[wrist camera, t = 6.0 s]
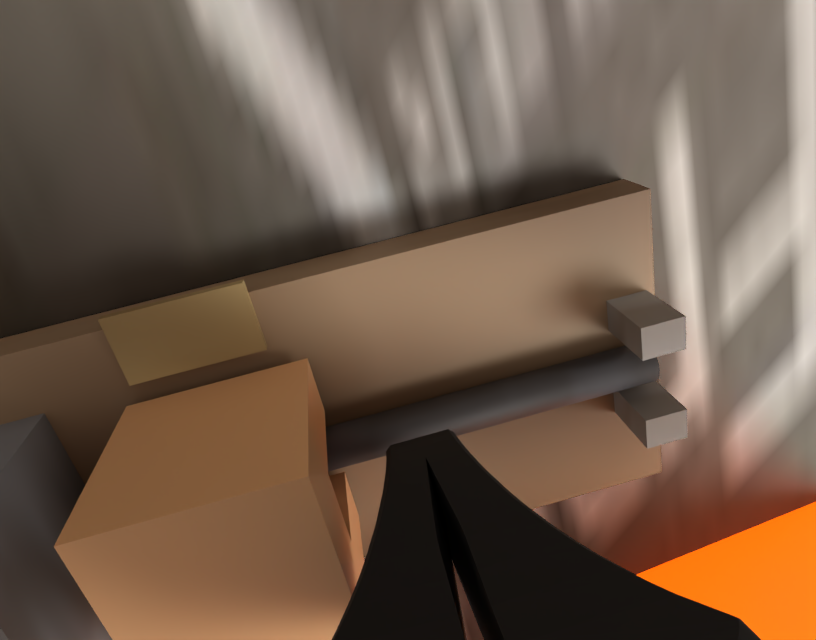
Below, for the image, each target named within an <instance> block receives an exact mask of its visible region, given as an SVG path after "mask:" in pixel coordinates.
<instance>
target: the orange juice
mask: <svg viewBox="0 0 816 640" xmlns="http://www.w3.org/2000/svg"><path fill="white" fill-rule="evenodd" d="M637 576H639V577H641V578H643V579H645V580H647V581H649V582H651V583H653V584H655V585H658V586H660V587H662V588H664V589H666V590H668V591H671V592H673V593H675V594H678V595H680V596H683V597H686V598H688V599H691V600H693V601H696V602H699V603H701V604H704V605H706V606H709V607H712V608H714V609H717V610H720V611H722V612H725V613H727V614H730V615H733V616H735V617H738V618H740V619H741V620H742V621H743V622H744V623H745V624H746V625H747V626H748V627H749V628H750V629H751V630H752V631H753V632H754V633H755V634H756V635H757V636H758V637H759V638H760V639H761V640H816V502H814V503H811V504H809V505H806V506H804V507H801V508H799V509H797V510H794V511H792V512H789V513H787V514H784V515H782V516H779V517H777V518H774V519H772V520H769V521H767V522H765V523H762V524H760V525H757V526H755V527H752V528H750V529H747V530H745V531H742V532H740V533H737V534H735V535H733V536H730V537H728V538H725V539H723V540H720V541H718V542H715V543H713V544H710V545H708V546H705V547H703V548H701V549H698V550H696V551H693V552H691V553H688V554H686V555H683V556H681V557H678V558H676V559H673V560H671V561H669V562H666V563H664V564H661V565H659V566H656V567H654V568H651V569H649V570H646V571H644V572H641V573H639V574H637Z"/></svg>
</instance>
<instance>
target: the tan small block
mask: <svg viewBox="0 0 816 640" xmlns="http://www.w3.org/2000/svg"><path fill="white" fill-rule="evenodd" d="M54 548H55V550H56V551H57V553H58V554H59V556H60V558H61V559H62V561H63V562H64V564H65V565H66V567H67V569H68V570H69V572H70V573H71V575H72V576H73V578H74V580H75V581H76V583H77V584H78V586H79V588H80V589H81V591H82V592H83V594H84V595H85V597H86V599H87V600H88V602H89V603H90V605H91V607H92V608H93V610H94V611H95V613H96V614H97V616H98V618H99V619H100V621H101V622H102V624H103V626H104V627H105V629H106V630H107V632H108V633H109V635H110V637H111V638H112V640H332V638H333V636H334V634H335V632H336V630H337V627H338V625H339V623H340V621H341V619H342V616H343V614H344V612H345V610H346V608H347V606H348V603H349V601H350V599H351V596H352V594H353V591H354V589H355V586H356V584H357V581H358V578H359V576H360V573H361V570H362V567H363V564H364V556H363V547H362V539H361V530H360V522H359V514H358V511H357V508H356V505H355V502H354V499H353V496H352V493H351V490H350V487H349V484H348V481H347V478H346V475H345V472H342V473H338V474H335V475H331V476H329V475H328V462H327V444H326V426H325V410H324V407H323V404H322V401H321V398H320V395H319V392H318V389H317V386H316V383H315V380H314V377H313V373H312V370H311V367H310V364H309V361H308V358H306V359H303V360H299V361H295V362H291V363H287V364H284V365H280V366H276V367H272V368H269V369H265V370H261V371H257V372H254V373H250V374H246V375H242V376H238V377H235V378H231V379H227V380H223V381H220V382H216V383H212V384H208V385H205V386H201V387H197V388H193V389H189V390H186V391H182V392H178V393H174V394H171V395H167V396H163V397H159V398H156V399H152V400H148V401H144V402H141V403H137V404H133V405H129V406H126V408H125V410H124V412H123V414H122V416H121V418H120V420H119V421H118V423H117V425H116V427H115V429H114V431H113V433H112V435H111V437H110V439H109V441H108V443H107V445H106V447H105V448H104V450H103V452H102V454H101V456H100V458H99V460H98V462H97V464H96V466H95V468H94V470H93V472H92V474H91V475H90V477H89V479H88V481H87V483H86V485H85V487H84V489H83V491H82V493H81V495H80V497H79V499H78V501H77V502H76V504H75V506H74V508H73V510H72V512H71V514H70V516H69V518H68V520H67V522H66V524H65V526H64V528H63V529H62V531H61V533H60V535H59V537H58V539H57V541H56V543H55V545H54Z"/></svg>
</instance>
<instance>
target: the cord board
mask: <svg viewBox="0 0 816 640" xmlns="http://www.w3.org/2000/svg"><path fill="white" fill-rule="evenodd" d="M684 349H686V316H684V315H683V314H681V313H680V312H678V311H677V310H675V309H674V308H672V307H671V306H669V305H668V304H666V303H665V302H663V301H662V300H660V299H659V298H657V297H656V296H655V291H654V266H653V241H652V215H651V190H650V189H649V188H647V187H644V186H641V185H639V184H636V183H633V182H630V181H628V180H625V179H622V180H618V181H615V182H611V183H607V184H603V185H599V186H595V187H591V188H587V189H583V190H579V191H575V192H572V193H568V194H564V195H560V196H556V197H552V198H548V199H544V200H540V201H536V202H532V203H529V204H525V205H521V206H517V207H513V208H509V209H505V210H501V211H497V212H493V213H489V214H486V215H482V216H478V217H474V218H470V219H466V220H462V221H458V222H454V223H450V224H446V225H443V226H439V227H435V228H431V229H427V230H423V231H419V232H415V233H411V234H407V235H404V236H400V237H396V238H392V239H388V240H384V241H380V242H376V243H372V244H368V245H364V246H361V247H357V248H353V249H349V250H345V251H341V252H337V253H333V254H329V255H325V256H321V257H318V258H314V259H310V260H306V261H302V262H298V263H294V264H290V265H286V266H282V267H278V268H275V269H271V270H267V271H263V272H259V273H255V274H251V275H247V276H243V277H239V278H235V279H232V280H228V281H224V282H220V283H216V284H212V285H208V286H204V287H200V288H196V289H192V290H189V291H185V292H181V293H177V294H173V295H169V296H165V297H161V298H157V299H153V300H150V301H146V302H142V303H138V304H134V305H130V306H126V307H122V308H118V309H114V310H110V311H107V312H103V313H99V314H95V315H91V316H87V317H83V318H79V319H75V320H71V321H67V322H64V323H60V324H56V325H52V326H48V327H44V328H40V329H36V330H32V331H28V332H24V333H21V334H17V335H13V336H9V337H5V338H1V339H0V640H112V638H111V637H110V635H109V633H108V632H107V630H106V629H105V627H104V626H103V624H102V622H101V621H100V619H99V618H98V616H97V614H96V613H95V611H94V610H93V608H92V607H91V605H90V603H89V602H88V600H87V599H86V597H85V595H84V594H83V592H82V591H81V589H80V588H79V586H78V584H77V583H76V581H75V580H74V578H73V576H72V575H71V573H70V572H69V570H68V569H67V567H66V565H65V564H64V562H63V561H62V559H61V558H60V556H59V554H58V553H57V551H56V550H55V548H54V545H55V543H56V541H57V539H58V537H59V535H60V533H61V531H62V529H63V528H64V526H65V524H66V522H67V520H68V518H69V516H70V514H71V512H72V510H73V508H74V506H75V504H76V502H77V501H78V499H79V497H80V495H81V493H82V491H83V489H84V487H85V485H86V483H87V481H88V479H89V477H90V475H91V474H92V472H93V470H94V468H95V466H96V464H97V462H98V460H99V458H100V456H101V454H102V452H103V450H104V448H105V447H106V445H107V443H108V441H109V439H110V437H111V435H112V433H113V431H114V429H115V427H116V425H117V423H118V421H119V420H120V418H121V416H122V414H123V412H124V410H125V408H126V406H129V405H133V404H137V403H141V402H144V401H148V400H152V399H156V398H159V397H163V396H167V395H171V394H174V393H178V392H182V391H186V390H189V389H193V388H197V387H201V386H205V385H208V384H212V383H216V382H220V381H223V380H227V379H231V378H235V377H238V376H242V375H246V374H250V373H254V372H257V371H261V370H265V369H269V368H272V367H276V366H280V365H284V364H287V363H291V362H295V361H299V360H303V359H306V358H308V361H309V364H310V367H311V370H312V373H313V377H314V380H315V383H316V386H317V389H318V392H319V395H320V398H321V401H322V404H323V407H324V410H325V426H326V444H327V462H328V475H329V476H331V475H335V474H338V473H342V472H345V475H346V478H347V481H348V484H349V487H350V490H351V493H352V496H353V499H354V502H355V505H356V508H357V511H358V514H359V522H360V530H361V539H362V547H363V556H364V557H366V555H367V552H368V548H369V545H370V542H371V538H372V535H373V532H374V528H375V524H376V520H377V516H378V512H379V507H380V502H381V498H382V493H383V487H384V480H385V473H386V451H387V449H388V448H389V446H390V445H393V444H397V443H400V442H404V441H407V440H411V439H414V438H418V437H422V436H425V435H429V434H432V433H436V432H439V431H443V430H447V429H449V430H451V431H453V432H454V433H455V434H456V436H457V437H458V439H459V440H460V441H461V442H462V444H463V445H464V446H465V447H466V449H467V450H468V451H469V452H470V453H471V454H472V455H473V456H474V457H475V458H476V460H477V461H478V462H479V463H480V464H481V465H482V466H483V467H484V468H485V469H486V470H487V471H488V472H489V473H490V474H491V475H492V476H493V477H495V478H496V479H497V480H498V481H499V482H500V483H501V484H502V485H503V486H504V487H505V488H506V489H507V490H509V491H510V492H511V493H512V494H513V495H514V496H516V497H517V498H518V499H519V500H520V501H522V502H523V503H524V504H525V505H527V506H528V507H529V508H530V509H535V508H538V507H542V506H545V505H549V504H552V503H556V502H559V501H563V500H566V499H570V498H573V497H577V496H580V495H583V494H587V493H590V492H594V491H597V490H601V489H604V488H608V487H611V486H615V485H618V484H622V483H625V482H629V481H632V480H636V479H639V478H643V477H646V476H650V475H653V474H657V473H660V472H662V466H661V445H663V444H666V443H670V442H673V441H677V440H680V439H684V438H687V437H688V434H687V409H686V408H685V407H684V406H683V405H682V404H681V403H680V402H678V401H677V400H676V399H675V398H674V397H673V396H672V395H671V394H670V393H669V392H667V391H666V390H665V389H664V388H663V387H662V386H661V385H660V384H659V383H658V378H659V364H658V360H657V357H659V356H662V355H666V354H670V353H673V352H677V351H681V350H684Z"/></svg>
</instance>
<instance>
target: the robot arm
mask: <svg viewBox="0 0 816 640" xmlns="http://www.w3.org/2000/svg"><path fill="white" fill-rule="evenodd" d="M452 560H453V563H454V565H455V568H456V571H457V573H458V576H459V578H460V581H461V583H462V586H463V588H464V591H465V593H466V596H467V598H468V601H469V603H470V606H471V608H472V611H473V613H474V616H475V618H476V621H477V623H478V626H479V628H480V631H481V633H482V636H483V638H484V640H761V639H760V638H759V637H758V636H757V635H756V634H755V633H754V632H753V631H752V630H751V629H750V628H749V627H748V626H747V625H746V624H745V623H744V622H743V621H742V620H741V619H740V618H738V617H735V616H733V615H730V614H727V613H725V612H722V611H720V610H717V609H714V608H712V607H709V606H706V605H704V604H701V603H699V602H696V601H693V600H691V599H688V598H686V597H683V596H680V595H678V594H675V593H673V592H671V591H668V590H666V589H664V588H662V587H660V586H658V585H655V584H653V583H651V582H649V581H647V580H645V579H643V578H641V577H639V576H637V575H635V574H633V573H632V572H630V571H628V570H626V569H624V568H622V567H620V566H618V565H617V564H615V563H613V562H611V561H609V560H607V559H605V558H603V557H602V556H600V555H598V554H596V553H595V552H593V551H591V550H590V549H588V548H586V547H585V546H583V545H582V544H580V543H578V542H577V541H575V540H574V539H572V538H571V537H569V536H568V535H566V534H565V533H563V532H562V531H560V530H559V529H557V528H556V527H554V526H553V525H551V524H550V523H549V522H547V521H546V520H545V519H543V518H542V517H541V516H539V515H538V514H537V513H535V512H534V511H533V510H532V509H530V508H529V507H528V506H527V505H525V504H524V503H523V502H522V501H520V500H519V499H518V498H517V497H516V496H514V495H513V494H512V493H511V492H510V491H509V490H507V489H506V488H505V487H504V486H503V485H502V484H501V483H500V482H499V481H498V480H497V479H496V478H495V477H493V476H492V475H491V474H490V473H489V472H488V471H487V470H486V469H485V468H484V467H483V466H482V465H481V464H480V463H479V462H478V461H477V460H476V458H475V457H474V456H473V455H472V454H471V453H470V452H469V451H468V450H467V449H466V447H465V446H464V445H463V444H462V442H461V441H460V440H459V439H458V437H457V436H456V434H455V433H454V432H453V431H451V430H449V429H447V430H443V431H439V432H436V433H432V434H429V435H425V436H422V437H418V438H414V439H411V440H407V441H404V442H400V443H397V444H393V445H390V446H389V448H388V449H387V451H386V473H385V480H384V487H383V493H382V498H381V502H380V507H379V512H378V516H377V520H376V524H375V528H374V532H373V535H372V538H371V542H370V545H369V548H368V552H367V555H366V558H365V561H364V564H363V567H362V570H361V573H360V576H359V578H358V581H357V584H356V586H355V589H354V591H353V594H352V596H351V599H350V601H349V603H348V606H347V608H346V610H345V612H344V614H343V616H342V619H341V621H340V623H339V625H338V627H337V630H336V632H335V634H334V636H333V638H332V640H467V639H466V633H465V628H464V622H463V617H462V612H461V606H460V601H459V595H458V590H457V585H456V579H455V574H454V568H453V563H452Z"/></svg>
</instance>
